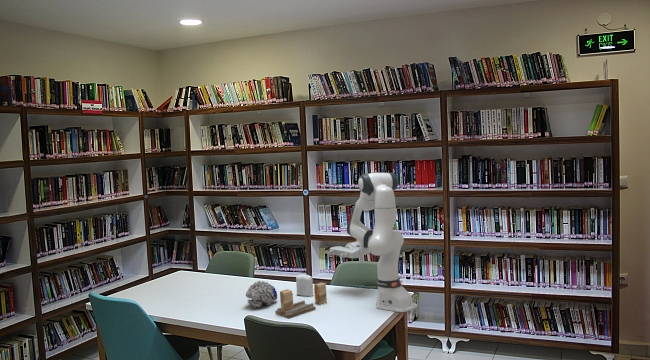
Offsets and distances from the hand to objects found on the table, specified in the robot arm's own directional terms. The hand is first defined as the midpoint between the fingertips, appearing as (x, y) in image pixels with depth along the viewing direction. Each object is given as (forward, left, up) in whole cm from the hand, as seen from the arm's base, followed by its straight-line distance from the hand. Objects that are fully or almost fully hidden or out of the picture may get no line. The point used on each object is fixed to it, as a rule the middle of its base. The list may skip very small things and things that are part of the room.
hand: (334, 254), depth 296 cm
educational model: (+24, +35, -25) cm, 49 cm away
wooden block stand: (0, +30, -25) cm, 39 cm away
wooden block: (0, +12, -25) cm, 28 cm away
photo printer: (+19, +8, -25) cm, 33 cm away
